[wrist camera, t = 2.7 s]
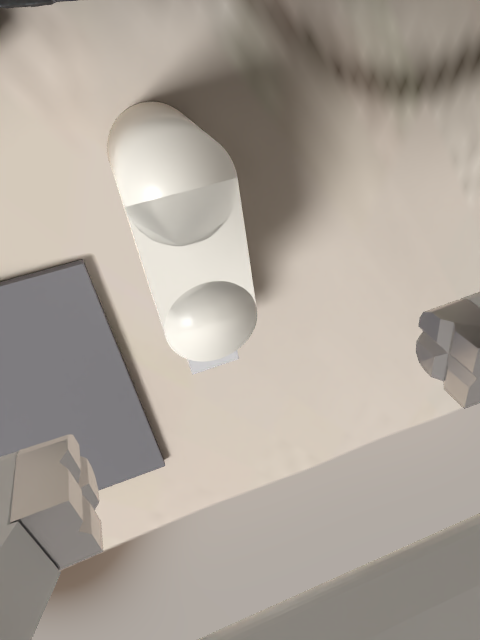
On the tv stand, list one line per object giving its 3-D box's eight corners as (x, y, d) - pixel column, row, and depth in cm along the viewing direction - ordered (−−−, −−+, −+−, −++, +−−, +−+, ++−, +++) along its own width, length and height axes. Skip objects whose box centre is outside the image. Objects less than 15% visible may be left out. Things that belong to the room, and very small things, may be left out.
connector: (188, 92, 16) (228, 116, 13) (231, 318, 23) (267, 381, 19) (93, 113, 16) (105, 145, 12) (165, 339, 22) (188, 408, 18)
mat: (82, 259, 19) (83, 263, 18) (163, 460, 27) (165, 465, 27) (-242, 348, 16) (-248, 354, 16) (-45, 536, 25) (-46, 543, 25)
